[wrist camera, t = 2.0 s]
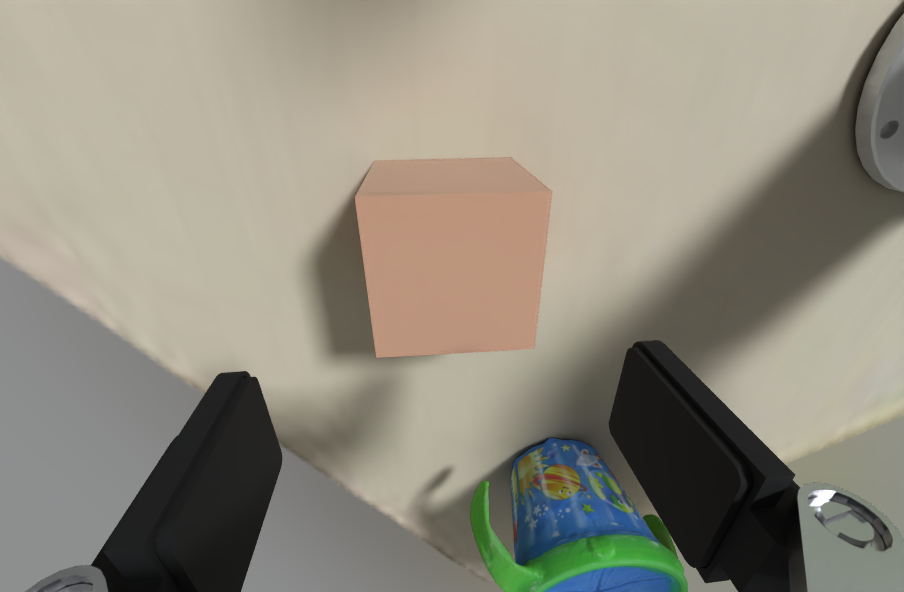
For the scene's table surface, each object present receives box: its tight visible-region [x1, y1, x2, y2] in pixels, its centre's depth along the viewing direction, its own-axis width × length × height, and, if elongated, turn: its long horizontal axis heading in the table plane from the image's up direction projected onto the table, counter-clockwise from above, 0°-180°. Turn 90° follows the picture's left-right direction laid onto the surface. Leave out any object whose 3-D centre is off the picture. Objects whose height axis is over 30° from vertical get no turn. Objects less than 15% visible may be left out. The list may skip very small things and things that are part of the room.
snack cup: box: [470, 438, 688, 592], centre depth 28 cm, size 16×10×10 cm
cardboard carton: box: [355, 157, 552, 358], centre depth 18 cm, size 7×7×7 cm
